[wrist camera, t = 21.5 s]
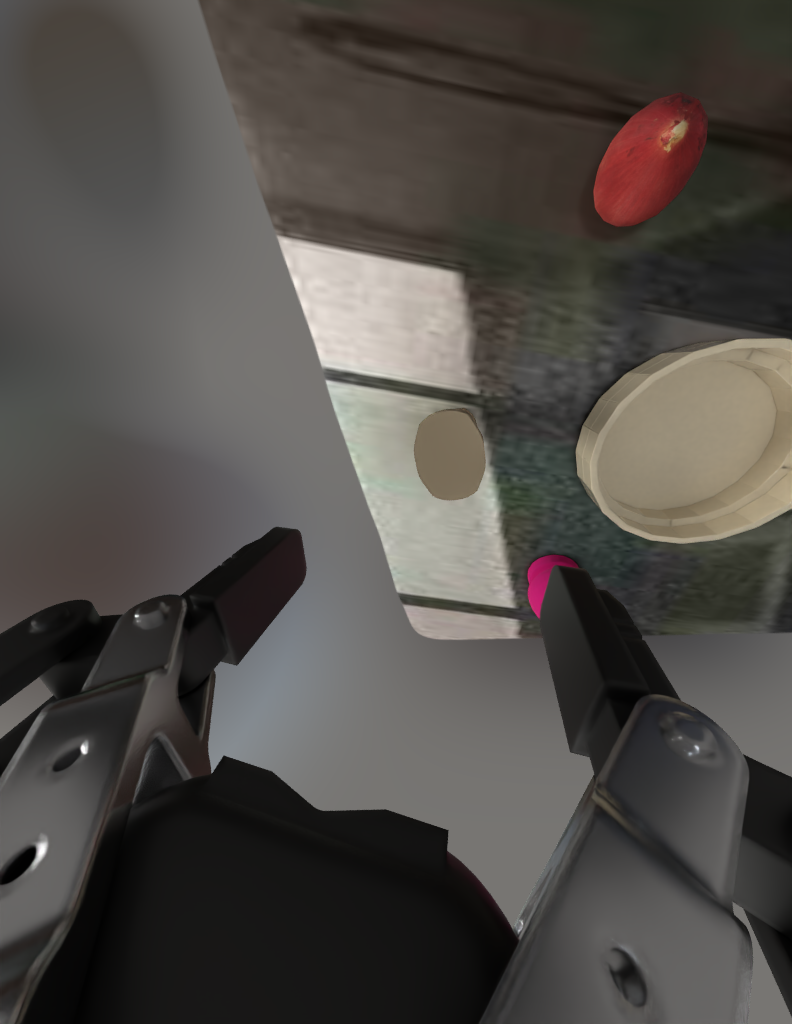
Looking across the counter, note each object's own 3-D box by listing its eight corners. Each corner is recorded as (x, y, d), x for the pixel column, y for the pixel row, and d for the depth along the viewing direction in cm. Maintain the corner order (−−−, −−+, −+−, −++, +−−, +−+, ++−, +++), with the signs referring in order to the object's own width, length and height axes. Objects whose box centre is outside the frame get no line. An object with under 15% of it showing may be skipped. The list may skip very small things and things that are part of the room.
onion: (616, 127, 22) (679, 19, 15) (687, 158, 22) (783, 64, 15) (565, 225, 25) (599, 172, 18) (628, 253, 25) (686, 211, 18)
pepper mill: (588, 590, 39) (677, 770, 22) (530, 599, 42) (568, 765, 25) (577, 545, 37) (666, 706, 20) (517, 557, 40) (548, 708, 22)
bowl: (601, 344, 28) (627, 340, 23) (836, 341, 24) (924, 336, 20) (557, 508, 36) (569, 531, 31) (730, 525, 32) (775, 554, 27)
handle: (478, 387, 32) (479, 403, 19) (484, 446, 35) (489, 496, 21) (434, 397, 34) (406, 418, 20) (443, 453, 36) (424, 503, 23)
